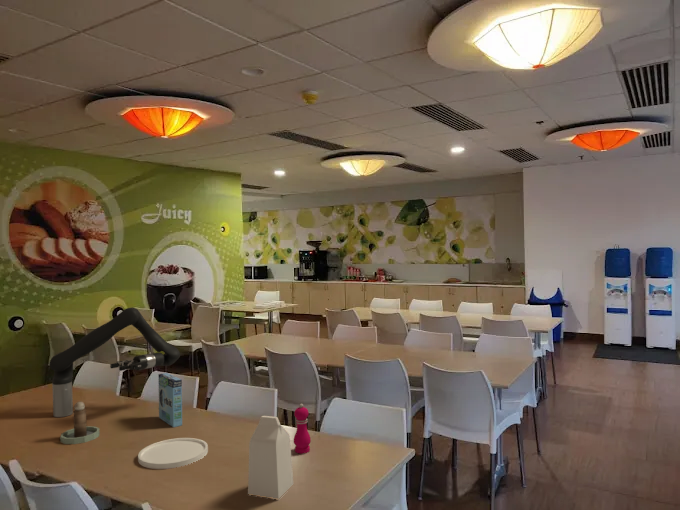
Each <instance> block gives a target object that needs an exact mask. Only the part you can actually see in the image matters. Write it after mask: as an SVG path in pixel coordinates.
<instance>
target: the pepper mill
mask: <svg viewBox="0 0 680 510" xmlns="http://www.w3.org/2000/svg"><path fill="white" fill-rule="evenodd" d="M309 412H310V411H309V410H308V408H306V406H304V404H303V403H300V404H299V405H298V407H297V408H296V409H295V410H294V417H295V423H296V431H295V433H294V438H293V444H294V445H295V447H294V451H295V453H296V454H301V455H302V454H303V453H304V454H307V452H308V453H309V452H310V451H311V449H310V448H311V447H310V443H311V442H312V440H311V438H312V437H311V435H310V433H309V431H308V426H307V423H308V422H309V421H308V417H309ZM304 454H303V455H304Z"/></svg>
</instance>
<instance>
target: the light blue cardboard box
mask: <svg viewBox="0 0 680 510" xmlns="http://www.w3.org/2000/svg"><path fill="white" fill-rule="evenodd" d="M157 375H158V419H160V420H162V421H163V422H165V423H166V424H168V425H169V426H171V427H172V428H177V427H181V426H183V391H182V390H183V389H182V388H183V387H182V386H183V384H182V383H183V382H182V378H179V377H177V376H175V375H173V374H170V373H168V372H163V373H158V374H157Z"/></svg>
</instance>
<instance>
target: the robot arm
mask: <svg viewBox="0 0 680 510" xmlns="http://www.w3.org/2000/svg"><path fill="white" fill-rule="evenodd" d="M130 326H132V327H134V328H135V329H136V330H138V332H139V333H140V334H141V335H142V336H143V338H144V339H145V341H146V342H147V344H148V345H150V347H152V348H153V350H155V351H156V352H154V353H146V354H141V355H136V356H134V357H133V359H125V360H124V359H123V360H118V361H116V362H114V363H110V369H116V368H118V369H119V371H127V370H128V371H129V370H130V371H132V370H133V371H134V370H136V371H142V370H146V369H150V368H155V367H158V366H161V367H163V366H164V367H165V366H166V367H168V366H171V365H173V364H175V363H176V362H177V360H179V358H180V357H181V352H180V350H179V349H178V348H177V347H176V346H174V345H173V344H171V343H168V342H167V341H166V340H165V339H164V338H163V337H162V336H161V335H160V334H159V333H158V332H157V331H156V330H155V329H154V328H153V327H152V326H151V325H150V324H149V322H147V320H146V319H145V317H143V315H142V313H141V312H140V311H139V309H137V308H135V307H127V308H125V309H123V310H122V311H120V313H118V314H117V315H116V316H115V317H113V318H112V319H111V320H109V321H108V322H105V323H104V324H102V325H100V326H98V327H96V328H95V329H93V330H92V331H90V332H88V333H87V334H85V335H84V336H82V337H81V338H80V339H79V340H78V341H76V342H75V343H74V344H72V346H70V347H68V348H67V349H66V350H65V349H64V350H63V351H61V352H58V353H56V354H55V355H53V356H52V357H51V359H50V361H49V368H50V370H52V371H53V372H54V373H53V376H52V381H51V382H52V384H51V385H52V410H53V411H52V412H53V415H52V416H53V418H63V417H64V418H65V417H68V416H71V415H74V413H73V411H74V405H73V403H74V402H73V401H74V400H73V375H74V362H76V361H78V360H79V359H81V358H82V357H84V356H85V355H89V354H90V353H92V352H94V351H95V350H97V349H99V347H101V346H103V345H104V344H106V343H107V342H108V341H109V340H111V339H112V338H113V337H114V336H115V335H116V334H118V333H119V332H120V331H122V330H124V329H126V328H127V327H130ZM163 353H164V354H163Z"/></svg>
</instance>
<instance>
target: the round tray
mask: <svg viewBox="0 0 680 510" xmlns="http://www.w3.org/2000/svg"><path fill="white" fill-rule="evenodd" d="M86 426H87V425H86ZM99 437H100V427H97V426H91V425H90V426H89V425H88V426H87V435H86V436H84V437H77V438H75V437H74V428H72V429H67V430H66V431H63V432H61V434H60V438H59V439H60V443H61V444H64V445H77V444H83V443H87V442H91V441H94V440H95V439H98V438H99Z"/></svg>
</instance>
